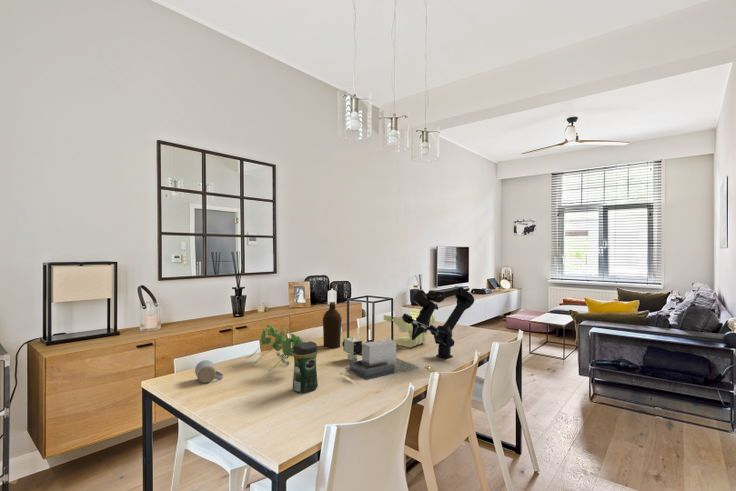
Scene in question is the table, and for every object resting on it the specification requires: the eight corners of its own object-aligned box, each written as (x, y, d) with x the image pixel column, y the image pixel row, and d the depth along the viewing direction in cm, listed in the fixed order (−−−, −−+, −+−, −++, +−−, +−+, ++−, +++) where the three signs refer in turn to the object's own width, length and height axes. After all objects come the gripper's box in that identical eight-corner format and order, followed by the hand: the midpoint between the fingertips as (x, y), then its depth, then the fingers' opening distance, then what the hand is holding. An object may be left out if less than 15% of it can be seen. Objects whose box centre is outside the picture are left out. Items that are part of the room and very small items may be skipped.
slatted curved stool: (406, 351, 201) (406, 318, 201) (383, 346, 211) (383, 315, 211) (434, 341, 224) (434, 311, 224) (412, 336, 234) (412, 308, 234)
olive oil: (342, 348, 205) (342, 303, 205) (322, 349, 204) (323, 304, 204) (340, 343, 216) (340, 300, 216) (322, 344, 214) (322, 301, 214)
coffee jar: (309, 383, 153) (309, 338, 153) (320, 388, 148) (321, 342, 148) (288, 389, 146) (289, 342, 146) (300, 395, 141) (300, 346, 141)
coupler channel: (395, 359, 186) (396, 351, 186) (419, 369, 171) (419, 361, 171) (344, 370, 170) (344, 361, 170) (365, 382, 155) (365, 373, 155)
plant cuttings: (287, 395, 157) (322, 356, 168) (264, 369, 150) (302, 329, 162) (253, 373, 183) (285, 340, 195) (232, 350, 177) (267, 317, 188)
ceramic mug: (197, 385, 149) (198, 366, 150) (194, 379, 156) (195, 361, 156) (224, 381, 155) (225, 362, 155) (220, 375, 162) (221, 357, 162)
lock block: (389, 363, 176) (389, 338, 176) (396, 367, 171) (397, 341, 171) (361, 369, 168) (362, 343, 168) (369, 373, 163) (369, 346, 163)
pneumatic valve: (355, 365, 176) (356, 340, 176) (341, 359, 185) (342, 335, 185) (364, 363, 180) (365, 338, 180) (350, 357, 189) (350, 334, 189)
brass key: (424, 368, 173) (424, 366, 173) (430, 368, 173) (430, 366, 173) (429, 374, 165) (429, 371, 165) (436, 374, 166) (436, 371, 166)
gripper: (445, 325, 186) (432, 353, 180) (412, 311, 195) (399, 337, 189) (443, 317, 177) (429, 346, 171) (409, 302, 186) (394, 329, 180)
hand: (412, 339), depth 178 cm, fingers closed
